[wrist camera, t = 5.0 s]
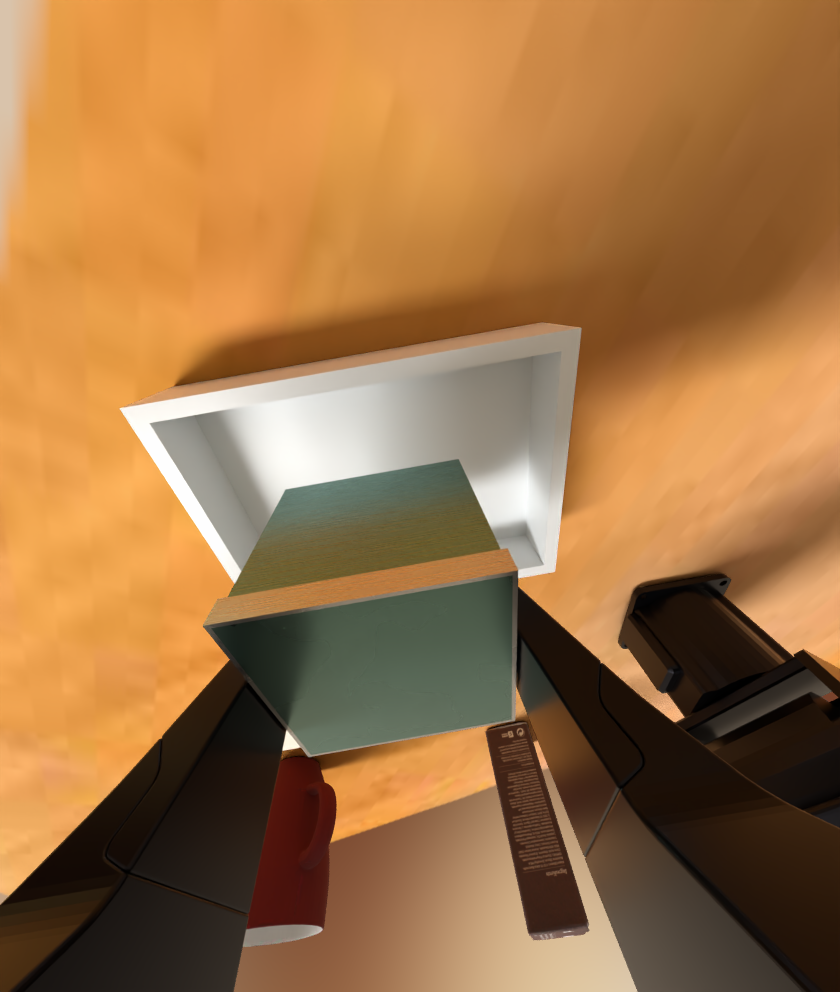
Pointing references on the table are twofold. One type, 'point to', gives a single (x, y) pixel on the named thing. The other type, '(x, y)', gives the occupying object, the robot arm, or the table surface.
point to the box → (535, 837)
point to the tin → (376, 611)
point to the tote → (377, 433)
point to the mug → (294, 857)
